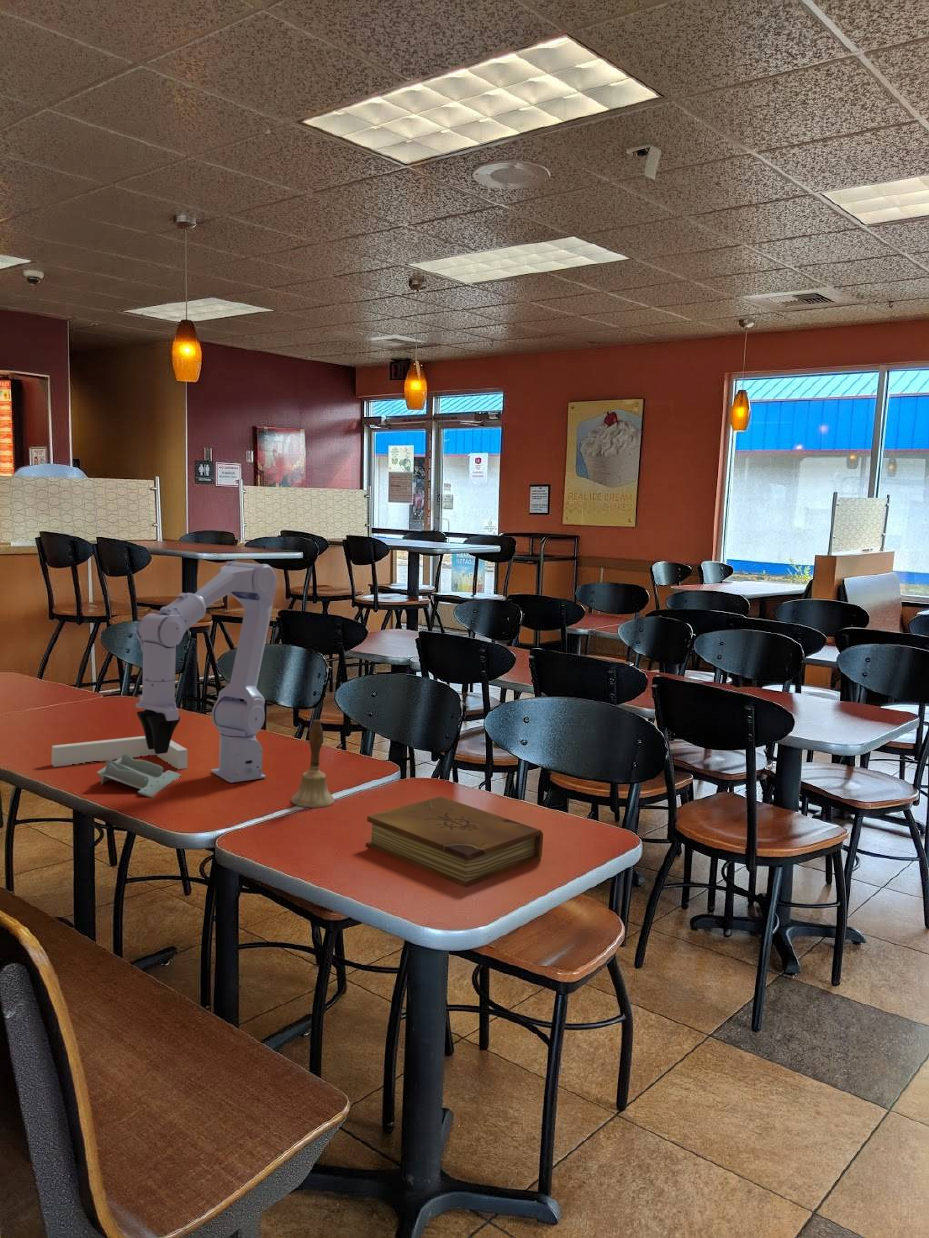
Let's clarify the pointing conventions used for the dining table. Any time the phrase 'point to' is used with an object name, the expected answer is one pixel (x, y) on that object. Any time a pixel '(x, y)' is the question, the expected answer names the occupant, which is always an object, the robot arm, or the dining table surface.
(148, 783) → the metal bracket
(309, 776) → the hand bell
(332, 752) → the dining table surface
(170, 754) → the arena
